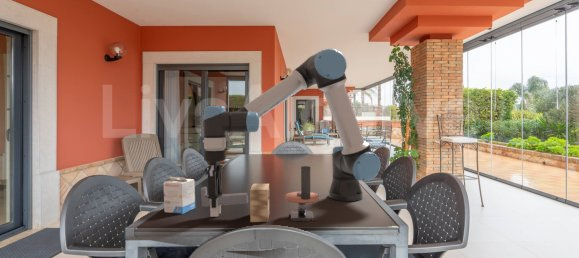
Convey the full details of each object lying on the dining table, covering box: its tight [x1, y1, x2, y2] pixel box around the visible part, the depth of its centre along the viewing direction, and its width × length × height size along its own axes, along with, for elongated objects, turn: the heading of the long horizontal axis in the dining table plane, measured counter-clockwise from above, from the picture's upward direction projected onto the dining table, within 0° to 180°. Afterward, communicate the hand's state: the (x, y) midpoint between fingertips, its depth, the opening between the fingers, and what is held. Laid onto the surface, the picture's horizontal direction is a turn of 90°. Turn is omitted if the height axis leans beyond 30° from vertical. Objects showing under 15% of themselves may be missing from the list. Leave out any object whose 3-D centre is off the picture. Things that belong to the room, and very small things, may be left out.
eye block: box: [249, 183, 270, 223], centre depth 116 cm, size 6×10×11 cm, turn 1°
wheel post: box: [290, 203, 315, 222], centre depth 117 cm, size 8×8×6 cm
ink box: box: [163, 176, 196, 215], centre depth 126 cm, size 9×8×13 cm
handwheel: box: [284, 165, 320, 204], centre depth 116 cm, size 12×12×12 cm
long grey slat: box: [200, 186, 249, 208], centre depth 116 cm, size 16×3×6 cm, turn 90°
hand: (215, 214), depth 116 cm, fingers closed on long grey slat, 3 cm apart
